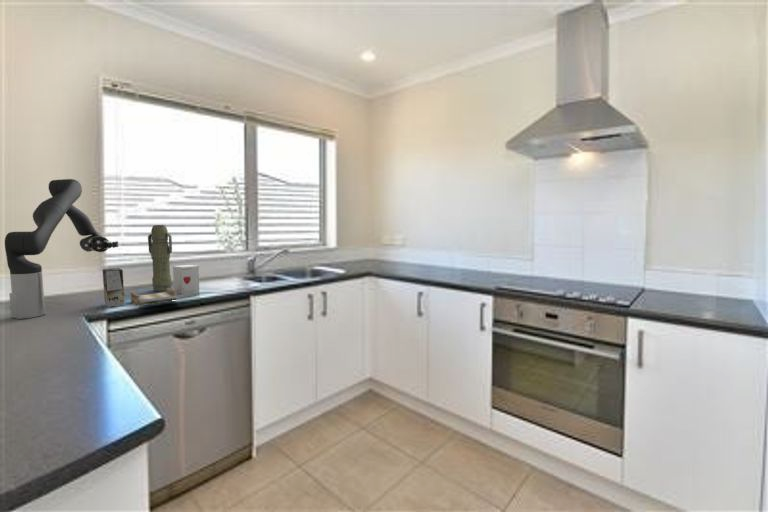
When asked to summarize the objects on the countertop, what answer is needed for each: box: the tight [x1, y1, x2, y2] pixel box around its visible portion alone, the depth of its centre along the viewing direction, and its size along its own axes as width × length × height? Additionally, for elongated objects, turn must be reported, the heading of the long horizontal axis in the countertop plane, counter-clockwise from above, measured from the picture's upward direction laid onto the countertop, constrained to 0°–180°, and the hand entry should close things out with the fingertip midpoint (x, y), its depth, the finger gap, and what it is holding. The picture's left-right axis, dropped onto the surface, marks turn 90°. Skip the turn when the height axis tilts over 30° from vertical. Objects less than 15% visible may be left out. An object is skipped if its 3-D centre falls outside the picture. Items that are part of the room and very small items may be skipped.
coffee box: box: [102, 267, 125, 308], centre depth 174 cm, size 9×6×16 cm
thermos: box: [147, 224, 173, 292], centre depth 209 cm, size 9×12×35 cm
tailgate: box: [140, 295, 185, 303], centre depth 172 cm, size 14×1×16 cm
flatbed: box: [130, 288, 178, 306], centre depth 182 cm, size 16×12×4 cm
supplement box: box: [172, 264, 200, 297], centre depth 197 cm, size 9×9×15 cm
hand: (106, 245), depth 179 cm, fingers open, 2 cm apart
